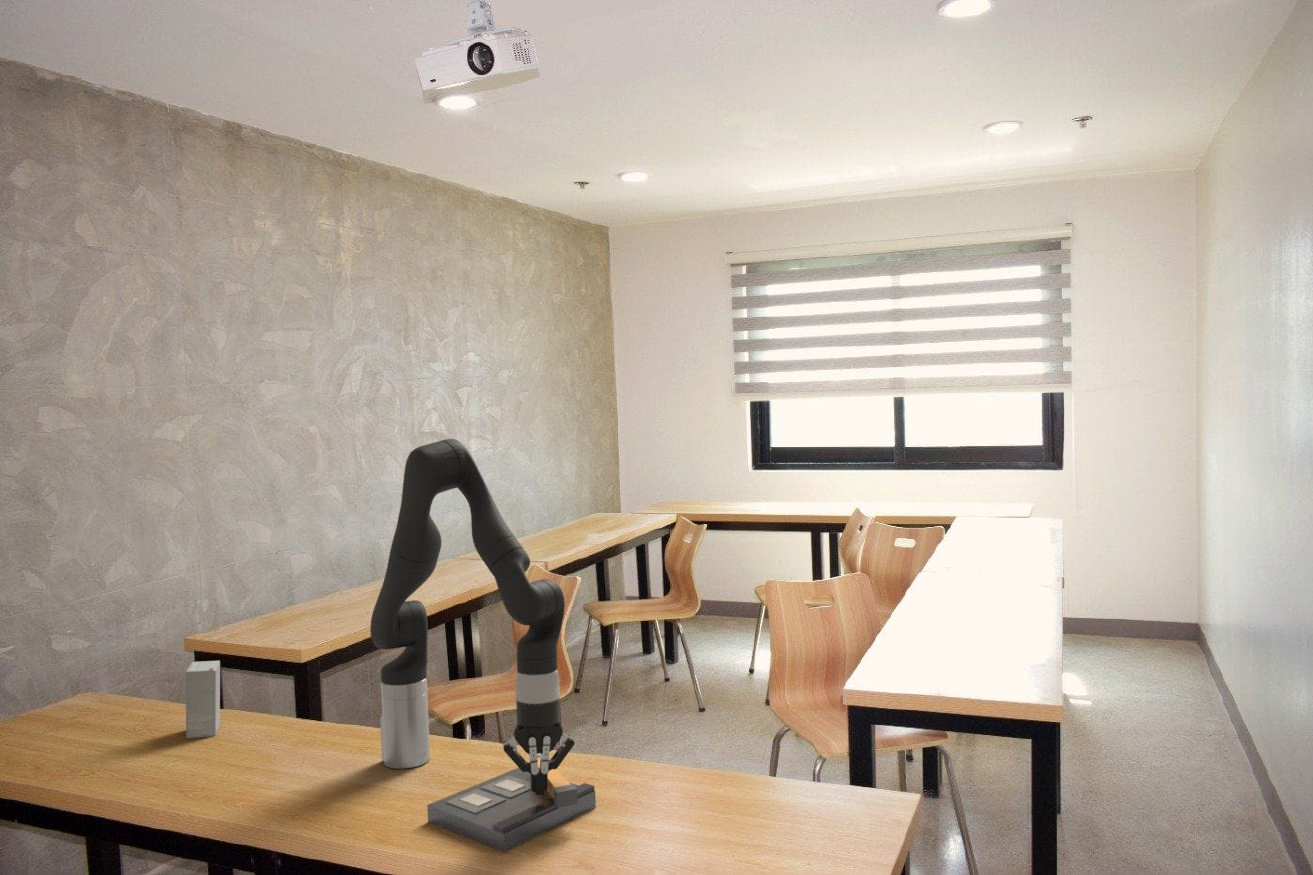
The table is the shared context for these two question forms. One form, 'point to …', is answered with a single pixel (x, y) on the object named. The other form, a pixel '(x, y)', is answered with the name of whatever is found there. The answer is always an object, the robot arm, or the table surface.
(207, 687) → the skincare box
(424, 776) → the table surface
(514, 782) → the plate
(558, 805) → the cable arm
